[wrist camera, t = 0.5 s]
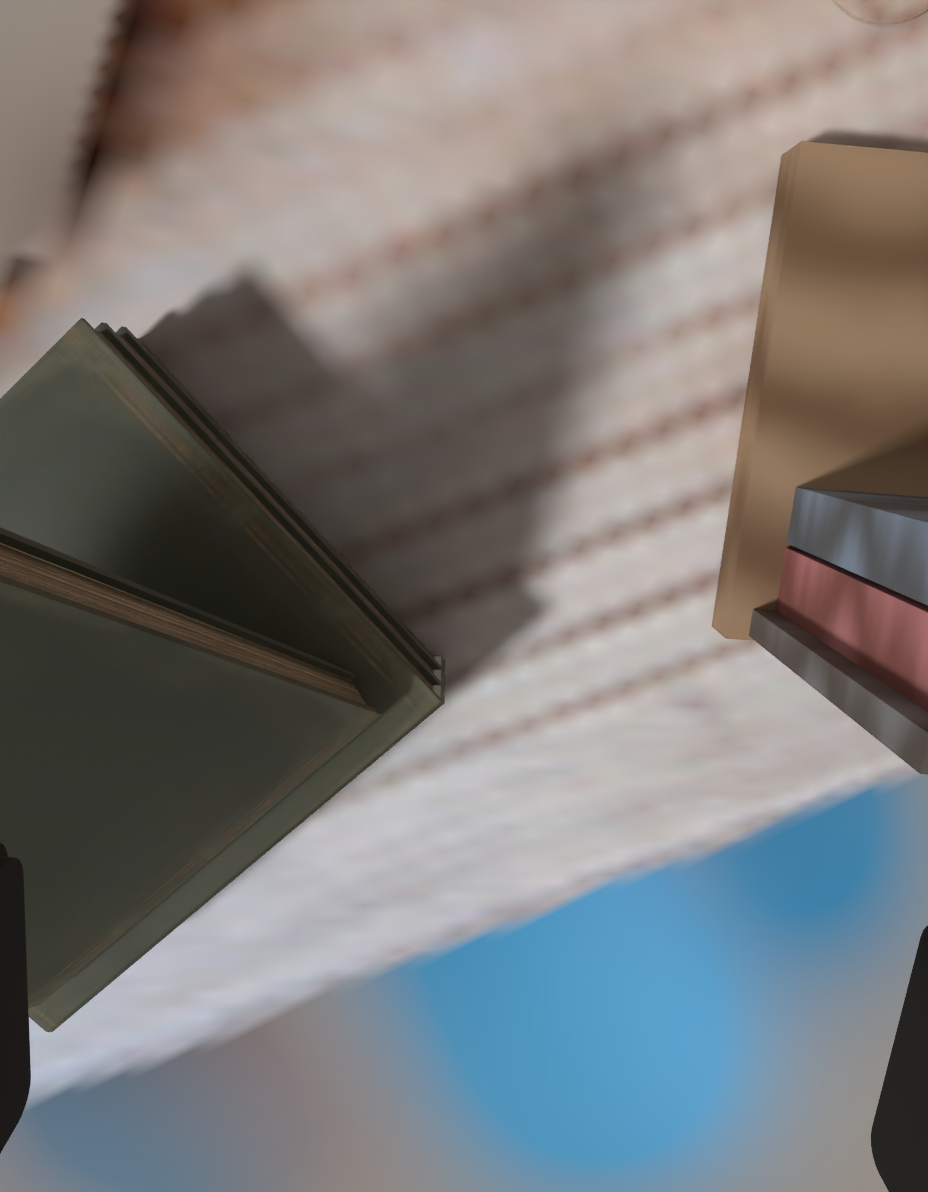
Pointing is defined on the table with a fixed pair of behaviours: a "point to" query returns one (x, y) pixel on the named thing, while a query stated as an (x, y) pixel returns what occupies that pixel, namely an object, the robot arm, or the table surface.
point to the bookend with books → (840, 442)
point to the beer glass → (883, 10)
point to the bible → (165, 662)
